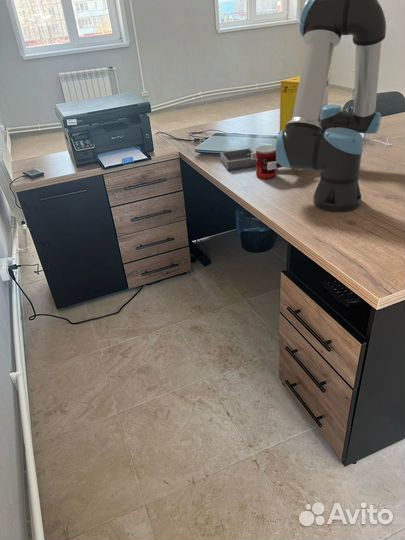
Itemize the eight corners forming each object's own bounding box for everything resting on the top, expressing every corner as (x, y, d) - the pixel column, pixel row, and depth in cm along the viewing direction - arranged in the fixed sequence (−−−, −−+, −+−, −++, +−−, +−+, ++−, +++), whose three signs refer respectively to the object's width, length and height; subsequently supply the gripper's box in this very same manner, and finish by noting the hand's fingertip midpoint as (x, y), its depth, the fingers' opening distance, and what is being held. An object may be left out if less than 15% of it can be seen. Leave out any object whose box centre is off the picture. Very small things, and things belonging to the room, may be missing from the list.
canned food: (264, 171, 163) (264, 144, 157) (280, 175, 158) (280, 147, 152) (252, 177, 159) (251, 149, 153) (268, 181, 154) (268, 153, 148)
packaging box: (305, 138, 194) (308, 83, 181) (279, 134, 205) (280, 81, 191) (325, 130, 203) (329, 77, 189) (299, 126, 213) (301, 75, 199)
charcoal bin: (259, 166, 168) (259, 157, 166) (228, 171, 166) (227, 162, 164) (250, 157, 179) (249, 148, 177) (220, 161, 178) (220, 152, 175)
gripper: (324, 169, 152) (275, 180, 147) (290, 152, 172) (245, 161, 166) (326, 149, 148) (275, 161, 142) (290, 134, 168) (245, 143, 162)
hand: (259, 161), depth 154 cm, fingers open, 13 cm apart
